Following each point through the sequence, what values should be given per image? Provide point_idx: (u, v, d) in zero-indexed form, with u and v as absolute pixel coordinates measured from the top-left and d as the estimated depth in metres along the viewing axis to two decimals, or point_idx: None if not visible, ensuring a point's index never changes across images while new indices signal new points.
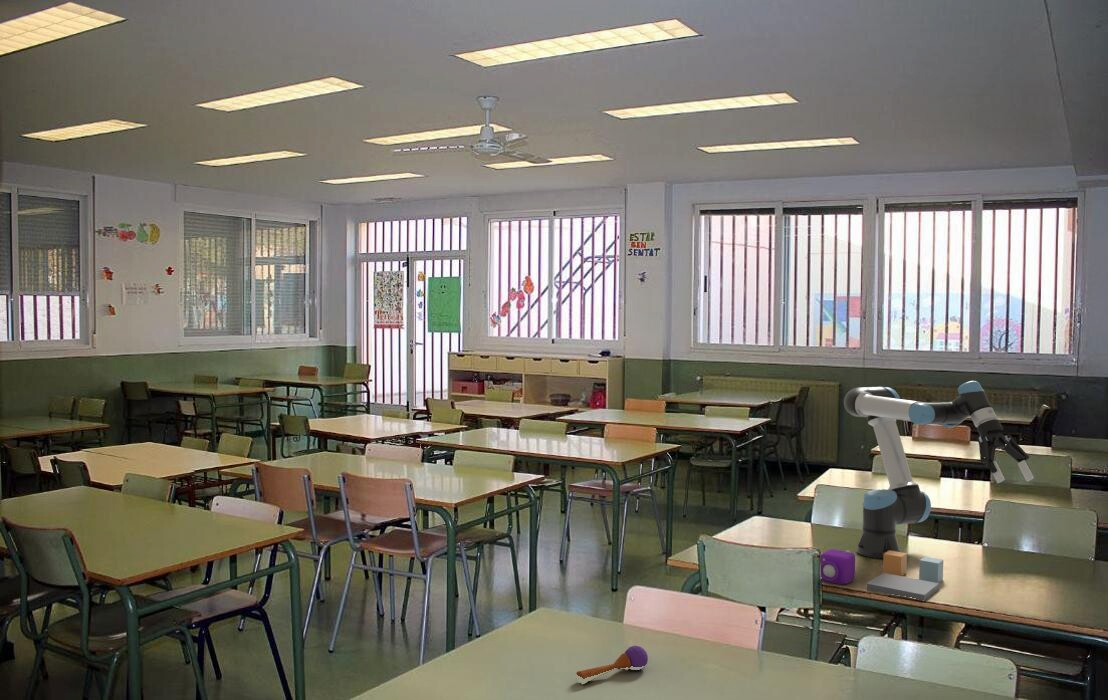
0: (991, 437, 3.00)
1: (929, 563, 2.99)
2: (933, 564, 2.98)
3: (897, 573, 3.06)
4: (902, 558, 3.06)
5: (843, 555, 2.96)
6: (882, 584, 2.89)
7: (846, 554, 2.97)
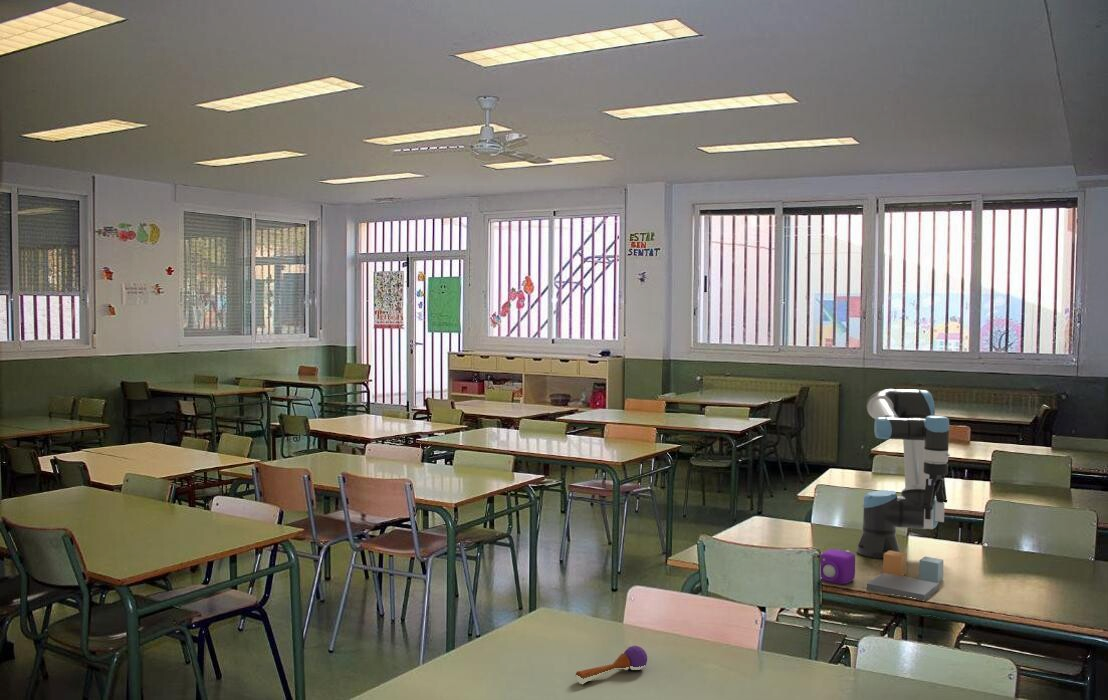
0: (936, 481, 2.97)
1: (929, 563, 2.99)
2: (933, 564, 2.98)
3: (897, 573, 3.06)
4: (902, 558, 3.06)
5: (843, 555, 2.96)
6: (882, 584, 2.89)
7: (846, 554, 2.97)
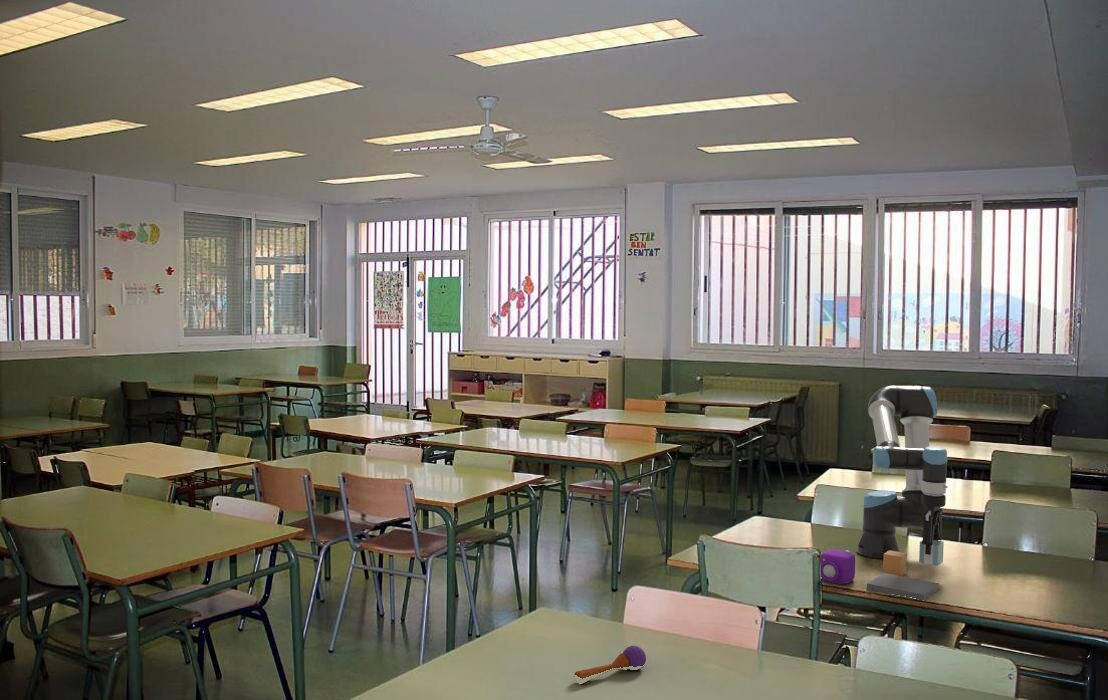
0: (934, 512, 2.98)
1: None
2: (933, 546, 2.98)
3: (897, 573, 3.06)
4: (902, 558, 3.06)
5: (843, 555, 2.96)
6: (882, 584, 2.89)
7: (846, 554, 2.97)
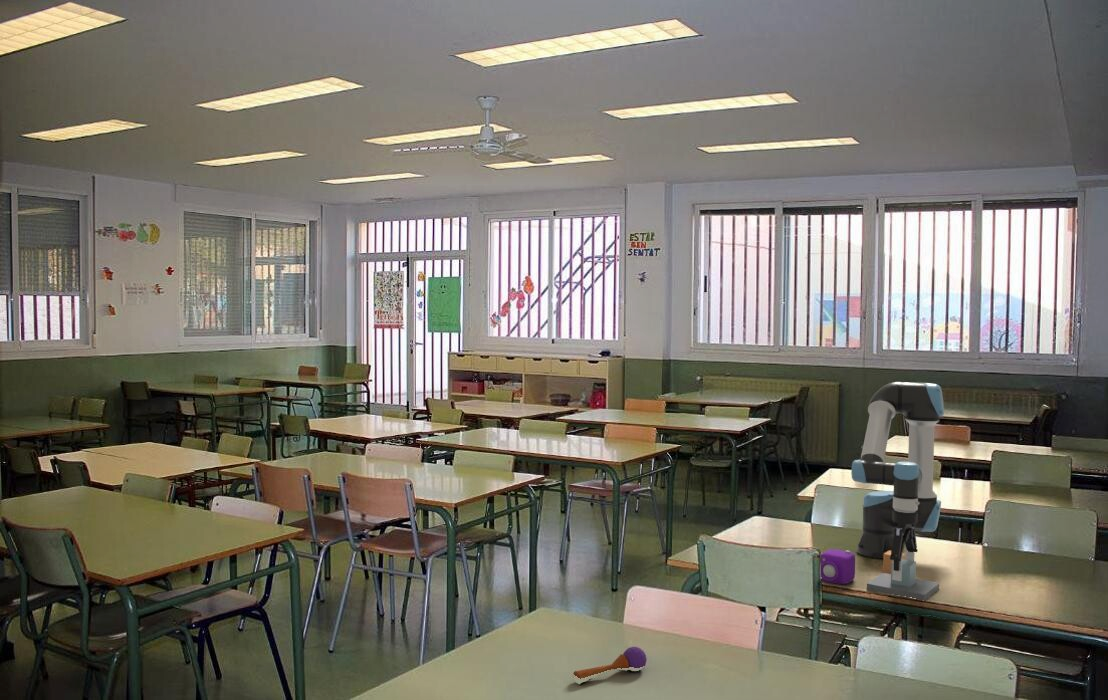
0: (905, 530, 2.87)
1: None
2: (905, 566, 2.87)
3: None
4: (902, 558, 3.06)
5: (843, 555, 2.96)
6: (882, 584, 2.89)
7: (846, 554, 2.97)
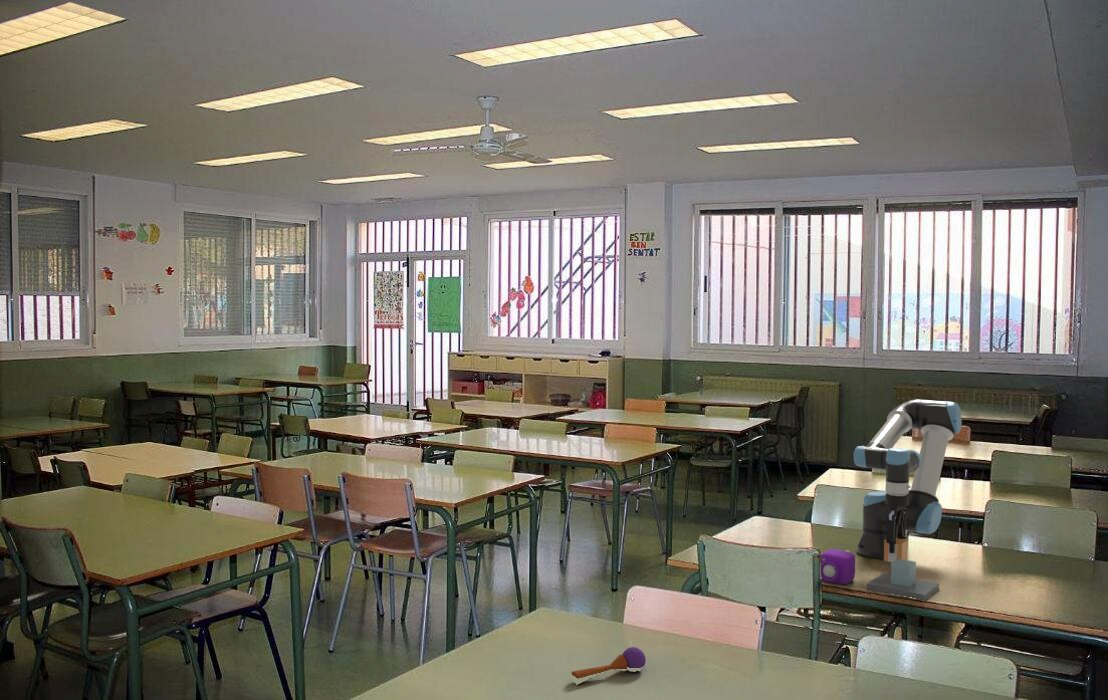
0: (897, 511, 3.06)
1: (901, 565, 2.88)
2: (905, 566, 2.87)
3: None
4: (903, 545, 3.06)
5: (843, 555, 2.96)
6: (882, 584, 2.89)
7: (846, 554, 2.97)
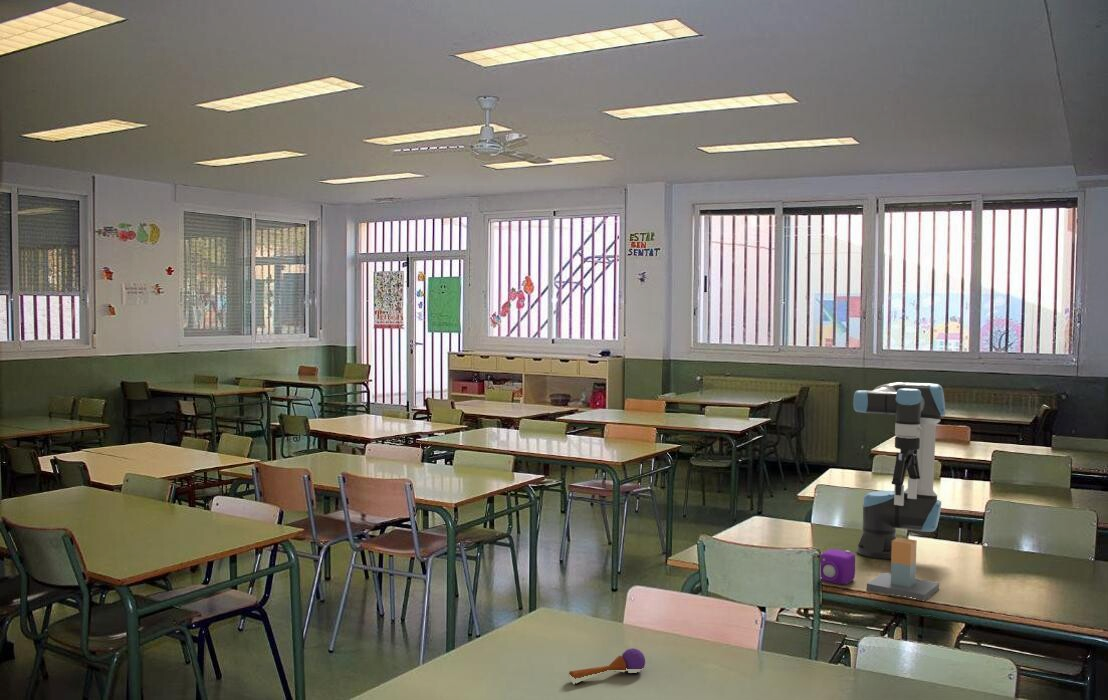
0: (907, 455, 2.86)
1: (901, 565, 2.88)
2: (905, 566, 2.87)
3: (906, 561, 2.87)
4: (912, 545, 2.87)
5: (843, 555, 2.96)
6: (882, 584, 2.89)
7: (846, 554, 2.97)
